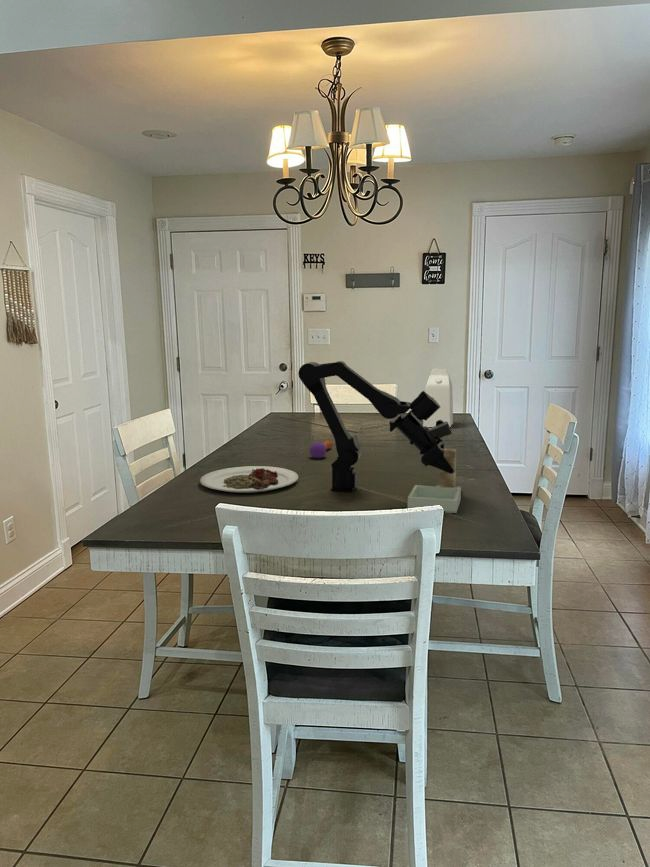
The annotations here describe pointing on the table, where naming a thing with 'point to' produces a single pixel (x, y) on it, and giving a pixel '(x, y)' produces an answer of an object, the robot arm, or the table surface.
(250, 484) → the plated food
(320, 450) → the purple and orange maraca
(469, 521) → the table surface
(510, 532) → the table surface
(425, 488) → the box
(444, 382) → the milk
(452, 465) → the wooden block tower
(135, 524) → the table surface
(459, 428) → the table surface
